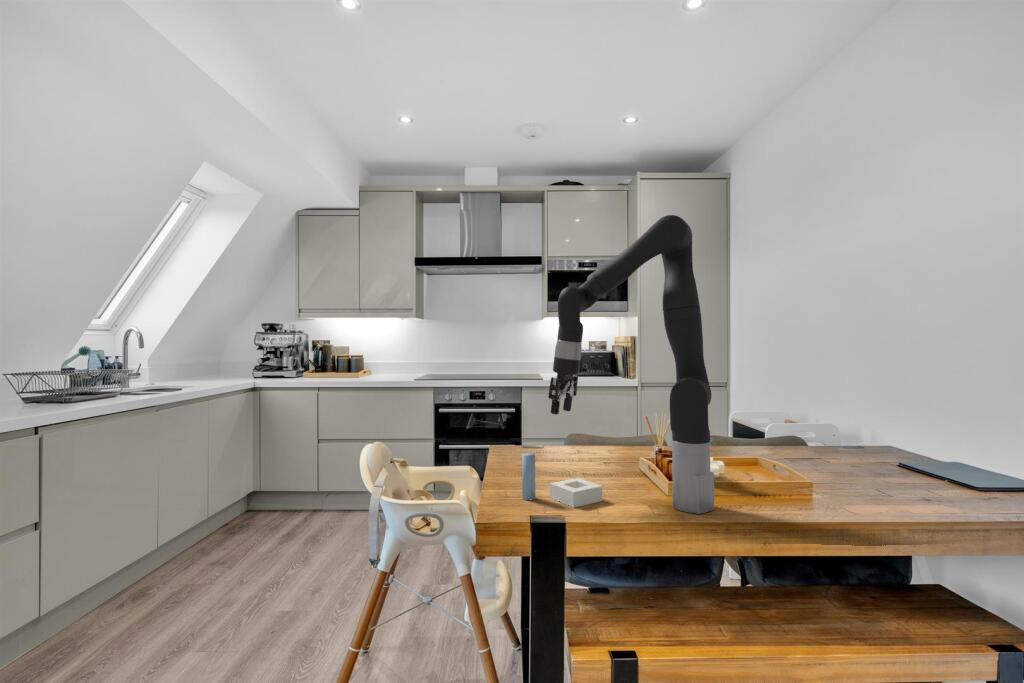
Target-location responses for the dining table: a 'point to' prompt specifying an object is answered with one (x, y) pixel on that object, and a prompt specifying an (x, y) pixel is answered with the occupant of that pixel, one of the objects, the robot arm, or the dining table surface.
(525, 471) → the peg
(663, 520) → the dining table surface
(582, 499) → the socket
